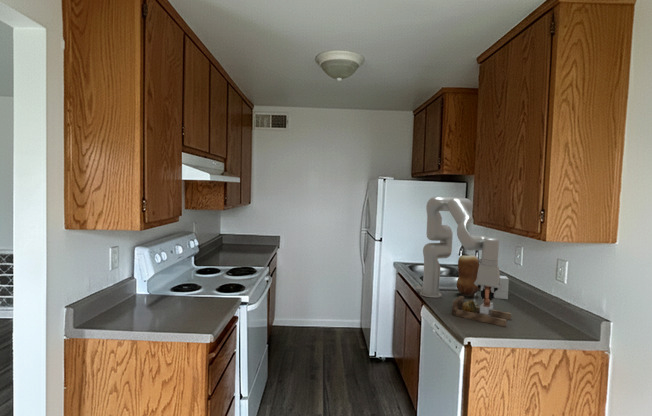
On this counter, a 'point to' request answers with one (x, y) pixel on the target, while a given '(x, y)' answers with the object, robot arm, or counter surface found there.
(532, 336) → the counter surface
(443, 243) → the robot arm
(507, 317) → the press frame
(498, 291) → the supplement box
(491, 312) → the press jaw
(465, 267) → the butternut squash
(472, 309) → the onion
